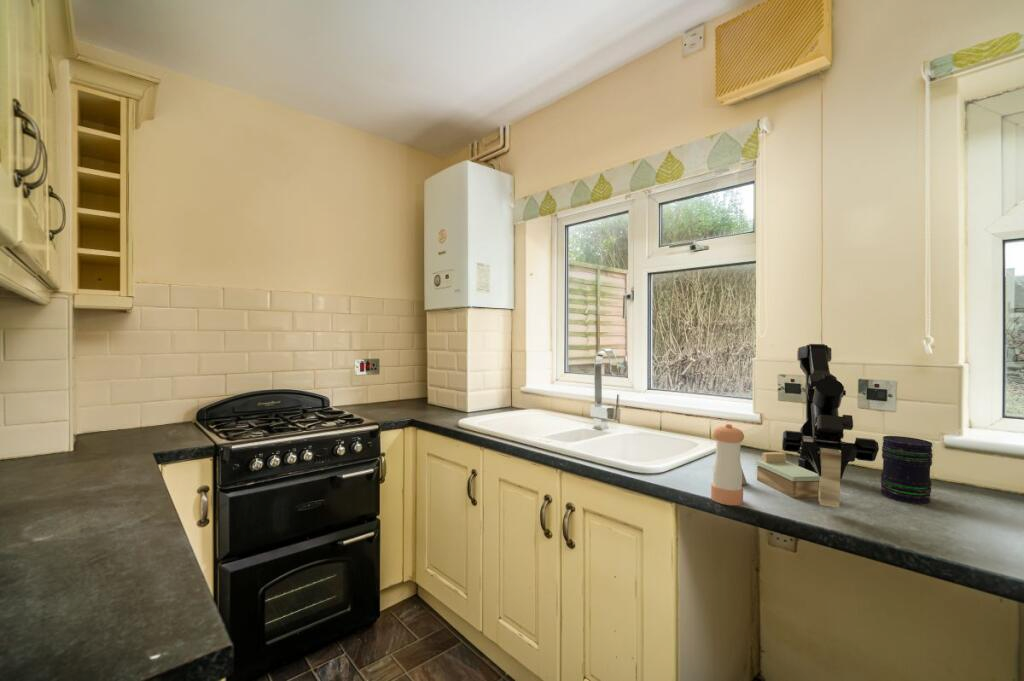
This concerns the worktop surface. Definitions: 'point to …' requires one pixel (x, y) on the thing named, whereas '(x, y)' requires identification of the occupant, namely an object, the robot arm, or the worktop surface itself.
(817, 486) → the wooden box tray
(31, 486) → the worktop surface
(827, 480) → the brown box
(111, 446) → the worktop surface
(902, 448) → the storage jar
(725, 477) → the pepper shaker
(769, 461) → the lid
